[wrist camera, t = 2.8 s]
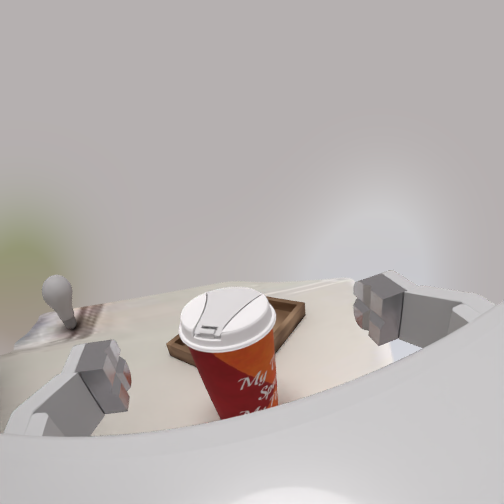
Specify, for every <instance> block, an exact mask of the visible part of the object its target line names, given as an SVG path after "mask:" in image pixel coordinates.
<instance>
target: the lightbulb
mask: <svg viewBox="0 0 504 504" xmlns="http://www.w3.org/2000/svg"><path fill="white" fill-rule="evenodd" d="M42 295H43V298H44V300H45V302H46V303H47V304H48V305H49V306H50V307H51V308H53V309H54V310H55V311H56V313H57V314H58V316H59V317H60V319H61V320H62V321H63V323H64V325H65V327H66V328H67V329H74V328H75V326H76V324H77V322H76V319H75V317H74V311H73V308H72V287H71V285H70V283H69V281H68V280H67V279H66V278H65V277H63V276H60V275H53V276H50V277H49V278H47V279H46V280H45V282H44V284H43V287H42Z"/></svg>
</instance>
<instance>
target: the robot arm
mask: <svg viewBox="0 0 504 504" xmlns="http://www.w3.org/2000/svg"><path fill="white" fill-rule="evenodd" d="M354 295H355V296H356V297H357V299H356V301H355V303H354V305H353V306H354V316H355V320H356V322H357V323H358V325H359V326H360V327H361V328H362V329H364V330H368V331H369V337H370V338H371V339H372V340H373V341H374V342H375V343H376V344H377V345H378V346H380V345H383V344H385V343H388V342H390V341H393V340H395V339H398V338H399V339H400V340H403V341H405V342H408V343H410V344H413V345H416V346H418V347H421V348H423V349H421V350H419V351H417V352H415V353H413V354H411V355H409V356H407V357H404V358H402V359H400V360H398V361H396V362H394V363H392V364H389V365H387V366H385V367H383V368H380V369H378V370H376V371H373V372H371V373H369V374H366V375H364V376H361V377H359V378H357V379H354V380H352V381H349V382H346V383H344V384H341V385H338V386H336V387H333V388H330V389H328V390H325V391H322V392H319V393H316V394H313V395H310V396H307V397H304V398H301V399H298V400H295V401H292V402H288V403H285V404H282V405H278V406H275V407H271V408H268V409H264V410H260V411H257V412H253V413H249V414H245V415H241V416H236V417H232V418H228V419H223V420H218V421H213V422H208V423H203V424H198V425H192V426H186V427H180V428H174V429H167V430H160V431H152V432H143V433H133V434H122V435H107V436H90V435H91V434H92V432H93V431H94V430H95V428H96V427H97V425H98V424H99V423H100V421H101V420H102V419H103V417H104V416H105V415H104V414H110V413H118V412H126V411H128V404H129V395H128V393H127V391H128V390H129V389H130V387H131V374H130V370H129V367H128V365H127V363H126V361H125V360H124V359H123V358H121V357H120V356H119V355H120V348H119V346H118V344H117V342H116V341H115V340H114V339H113V340H106V341H99V342H92V343H84V344H79V345H75V346H73V347H72V350H71V352H70V354H69V356H68V359H67V361H66V363H65V365H64V368H63V370H62V372H61V374H58V375H56V376H55V377H54V378H52V379H51V380H50V381H49V382H47V383H46V384H45V385H44V386H43V387H41V388H40V389H39V390H38V391H36V392H35V393H34V394H33V395H32V396H30V397H29V398H28V399H27V400H26V401H24V402H23V403H22V404H21V405H20V406H18V407H17V408H16V409H15V410H14V411H13V412H12V414H11V416H10V419H9V421H8V423H7V426H6V428H5V430H4V433H0V504H504V300H503V301H502V302H500V303H499V304H497V305H496V304H494V303H492V302H490V301H489V300H487V299H486V298H484V297H482V296H481V295H479V294H475V293H469V292H463V291H456V290H450V289H443V288H436V287H430V286H424V285H421V286H417V285H416V284H414V283H413V282H411V281H409V280H408V279H406V278H405V277H403V276H401V275H400V274H398V273H397V272H395V271H393V270H389V271H386V272H383V273H381V274H378V275H375V276H372V277H370V278H366V279H363V280H360V281H357V282H355V284H354Z"/></svg>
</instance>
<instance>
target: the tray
mask: <svg viewBox="0 0 504 504" xmlns="http://www.w3.org/2000/svg"><path fill="white" fill-rule="evenodd" d="M266 298H267V299H268V302H269V304H270V305H271V306H272V307H273V308H274V310H275V313H276V321H275V325H274V326H273V335H274V350H275V353H276V352H277V350H278V349H279V348H280V347H281V345H282V344H283V343H284V342H285V340H286V339H287V338H288V337H289V335H290V334H291V333H292V331H293V330H294V329H295V328H296V326H297V325H298V324H299V322H300V321H301V320H302V318H303V317H304V316H305V303H303V302H297V301H291V300H284V299H278V298H272V297H266ZM166 345H167V348H168V350H169V353H170V356H173V357H175V358H177V359H179V360H182V361H184V362H186V363H189V364H191V365H194V366H196V364H195V362H194V360H193V357H192V355H191V352H190V350H189V348H188V346H187V345H186V344H185V343H183V341H182V340H181V338H180V336H179V334H178V335H177V336H176V337H174V338H173V339H172V340H170V341H169V342H168V343H167V344H166Z"/></svg>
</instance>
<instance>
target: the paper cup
mask: <svg viewBox="0 0 504 504" xmlns="http://www.w3.org/2000/svg"><path fill="white" fill-rule="evenodd" d="M206 294H207V295H206ZM180 321H181V323H180V326H179V336H180V338H181V340H182V341H183V343H185V344H186V345H187V346H188V348H189V350H190V352H191V355H192V357H193V360H194V362H195V364H196V367H197V369H198V371H199V374H200V376H201V378H202V380H203V383H204V385H205V387H206V389H207V391H208V394H209V396H210V398H211V400H212V402H213V404H214V406H215V408H216V410H217V412H218V415H219V417H220V419H221V420H223V419H228V418H232V417H236V416H241V415H245V414H249V413H253V412H257V411H260V410H264V409H268V408H271V407H275V406H278V398H277V380H276V365H275V350H274V335H273V326H274V325H275V321H276V313H275V310H274V308H273V307H272V306H271V305H270V304H269V302H268V299H267V298H266V296H265V295H264V294H262V293H261V292H259V291H257V290H254V289H251V288H247V287H226V288H220V289H216V290H212V291H209V292H206V293H203V294H201V295H199V296H197V297H195V298H194V299H192V300H191V301H190V302H189V303H187V304H186V306H185V307H184V308H183V310H182V312H181V316H180Z"/></svg>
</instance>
